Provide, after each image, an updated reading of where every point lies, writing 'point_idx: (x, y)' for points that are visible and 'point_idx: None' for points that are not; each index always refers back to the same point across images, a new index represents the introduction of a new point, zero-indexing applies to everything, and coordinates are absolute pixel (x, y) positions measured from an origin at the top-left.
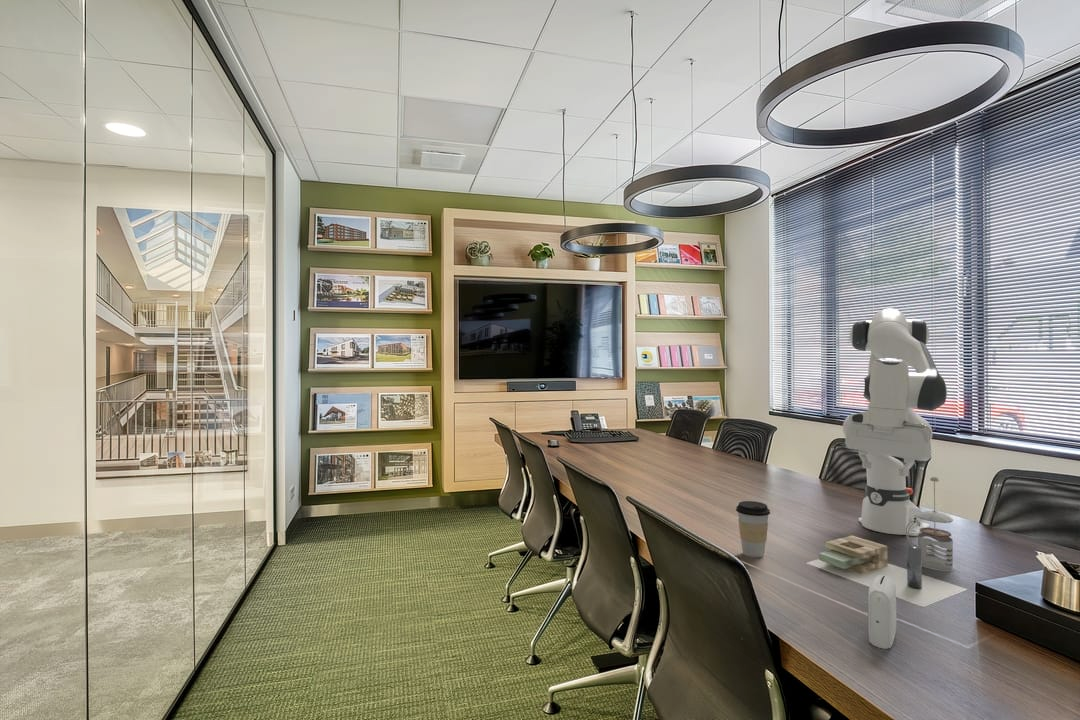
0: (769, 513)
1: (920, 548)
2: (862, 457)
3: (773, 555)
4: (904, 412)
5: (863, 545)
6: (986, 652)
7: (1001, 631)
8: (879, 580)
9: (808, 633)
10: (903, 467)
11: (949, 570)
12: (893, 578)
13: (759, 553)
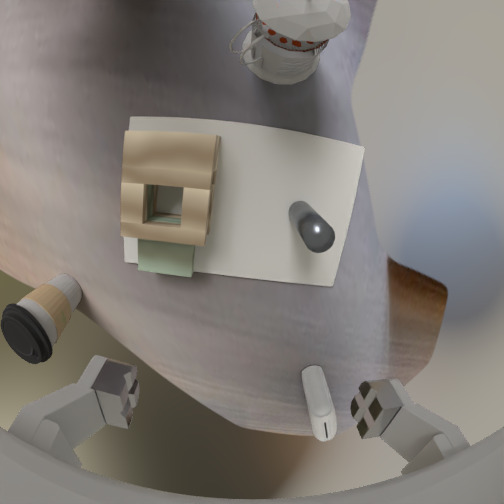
0: (42, 329)
1: (333, 237)
2: (81, 441)
3: (77, 263)
4: None
5: (178, 182)
6: (394, 333)
7: (409, 270)
8: (325, 437)
9: (260, 415)
10: (388, 443)
11: (313, 65)
12: (259, 201)
13: (78, 301)
